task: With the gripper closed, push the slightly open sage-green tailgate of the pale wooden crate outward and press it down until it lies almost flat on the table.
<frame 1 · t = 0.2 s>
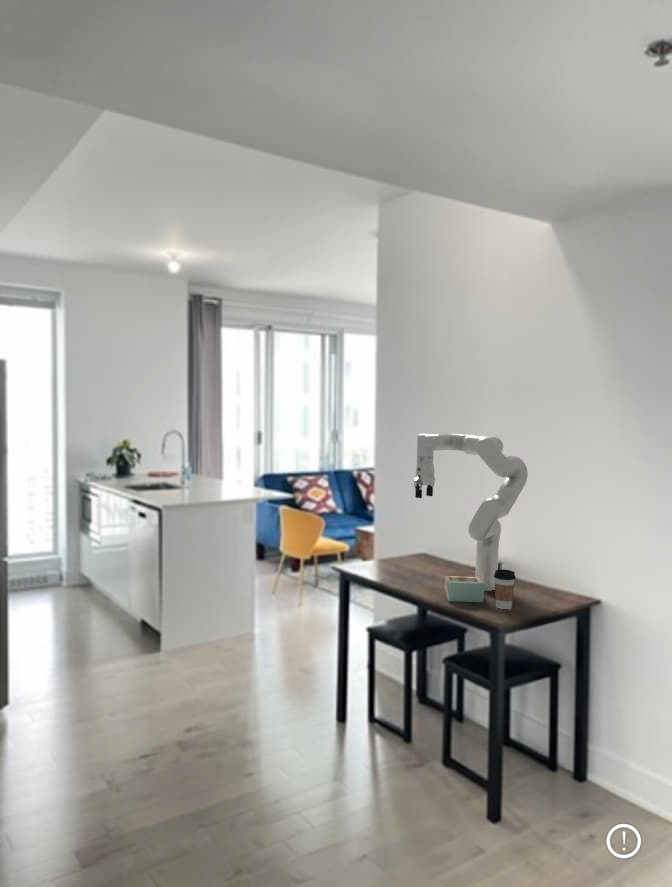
hand: (424, 496, 314), 37 cm above the table, tool pointing down, fingers open, 9 cm apart
crate: (463, 596, 282), on the table
coffee cup: (503, 608, 267), on the table
tailgate: (466, 591, 273), point 5 cm above the table, hinge at 20.0°
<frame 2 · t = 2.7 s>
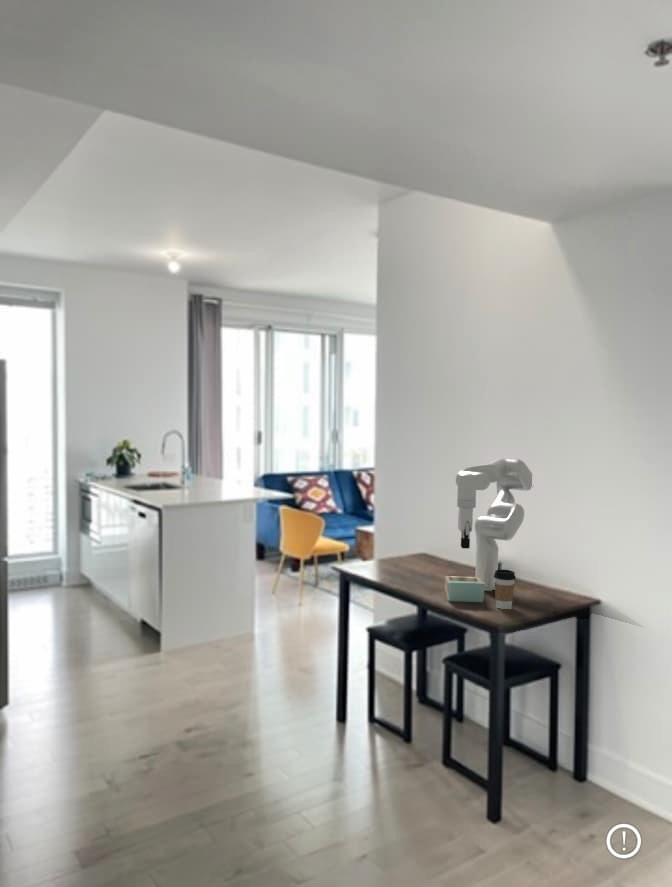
hand: (465, 547, 279), 21 cm above the table, tool pointing down, fingers closed
nothing on the table moved.
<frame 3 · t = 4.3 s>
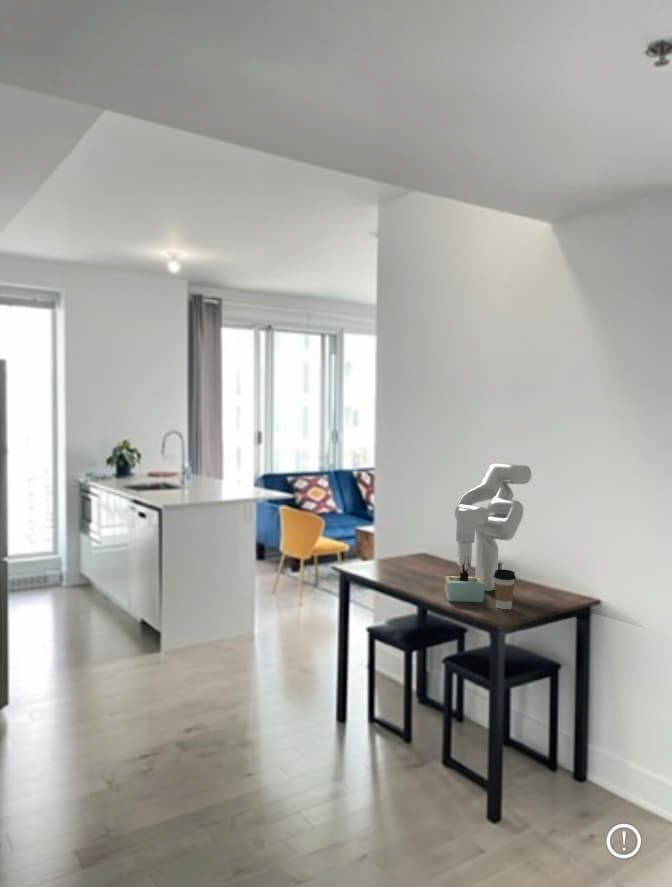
hand: (463, 581, 280), 7 cm above the table, tool pointing down, fingers closed
nothing on the table moved.
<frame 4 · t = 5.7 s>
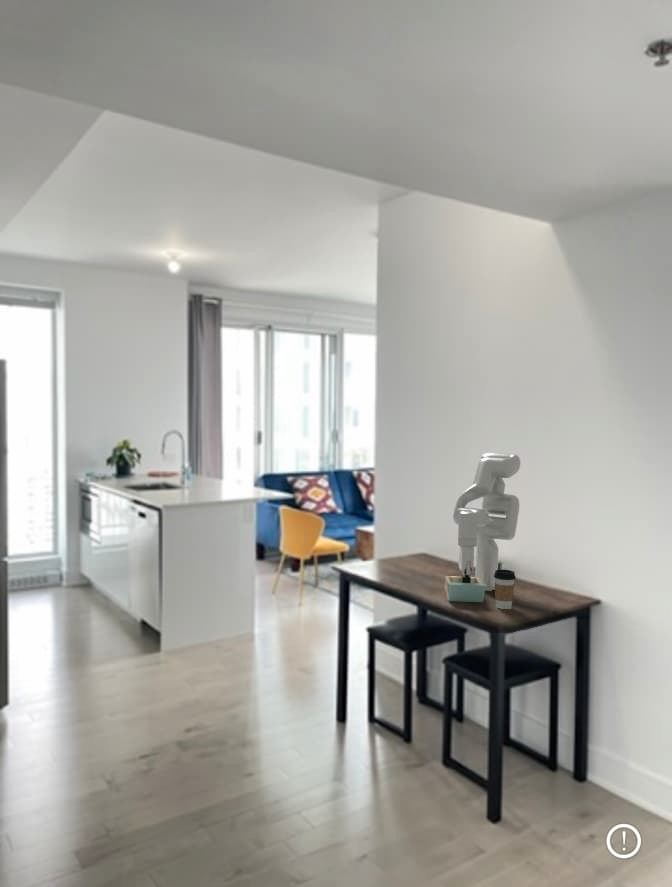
hand: (466, 586, 273), 7 cm above the table, tool pointing down, fingers closed
tailgate: (466, 592, 272), point 4 cm above the table, hinge at 28.2°, touching gripper
everything else where it was.
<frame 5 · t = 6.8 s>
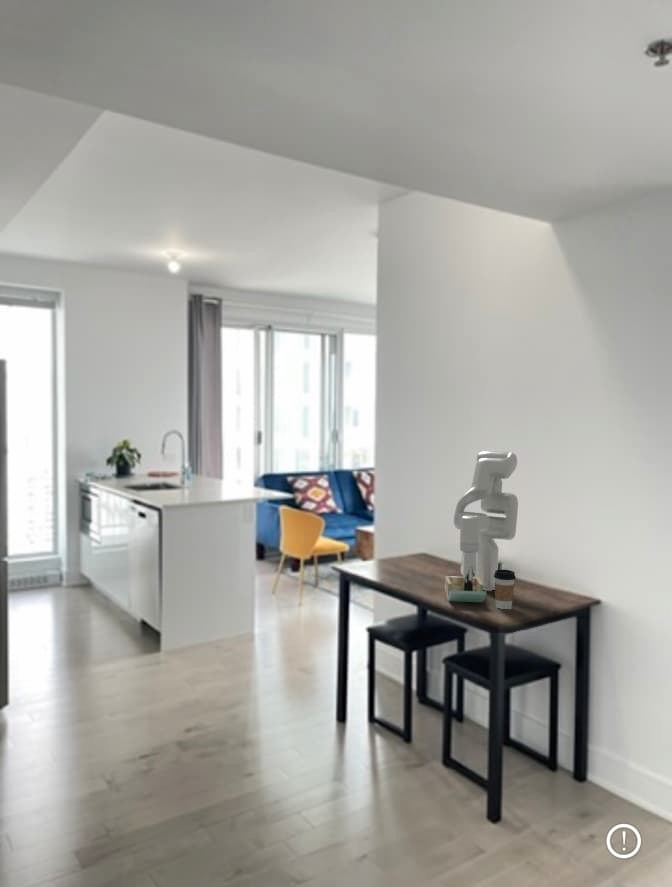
hand: (468, 592, 270), 5 cm above the table, tool pointing down, fingers closed
tailgate: (467, 596, 271), point 3 cm above the table, hinge at 54.2°, touching gripper
everything else where it was.
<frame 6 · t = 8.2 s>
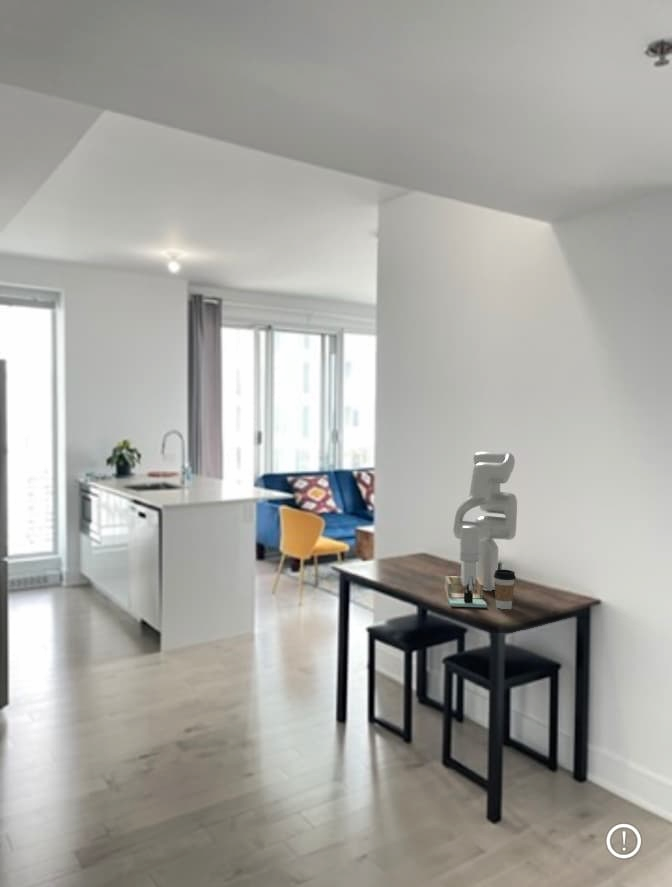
hand: (468, 602, 268), 2 cm above the table, tool pointing down, fingers closed
tailgate: (467, 602, 270), point 1 cm above the table, hinge at 86.4°, touching gripper
everything else where it was.
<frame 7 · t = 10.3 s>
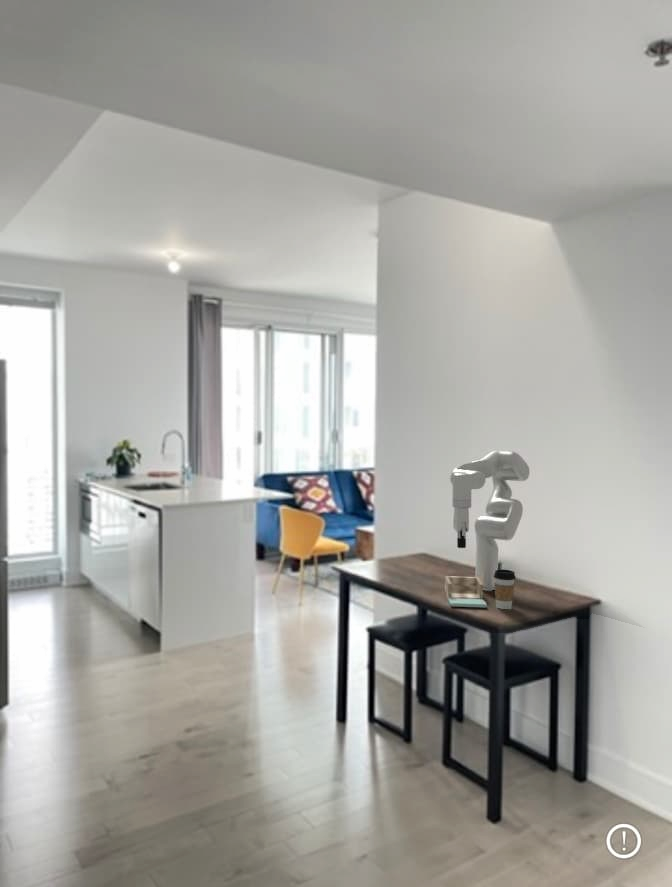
hand: (461, 547, 276), 22 cm above the table, tool pointing down, fingers closed
tailgate: (467, 602, 270), point 1 cm above the table, hinge at 86.4°
everything else where it was.
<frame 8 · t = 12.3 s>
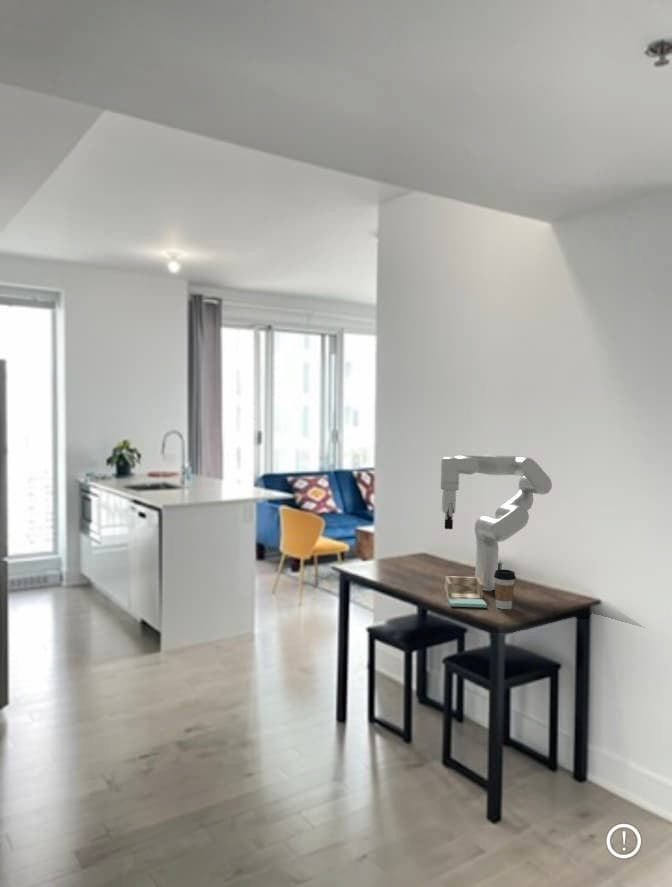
hand: (448, 528, 288), 27 cm above the table, tool pointing down, fingers closed
nothing on the table moved.
at the end: tailgate at +86° (first picture: +20°); coffee cup moved 0.2 cm from its start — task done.
